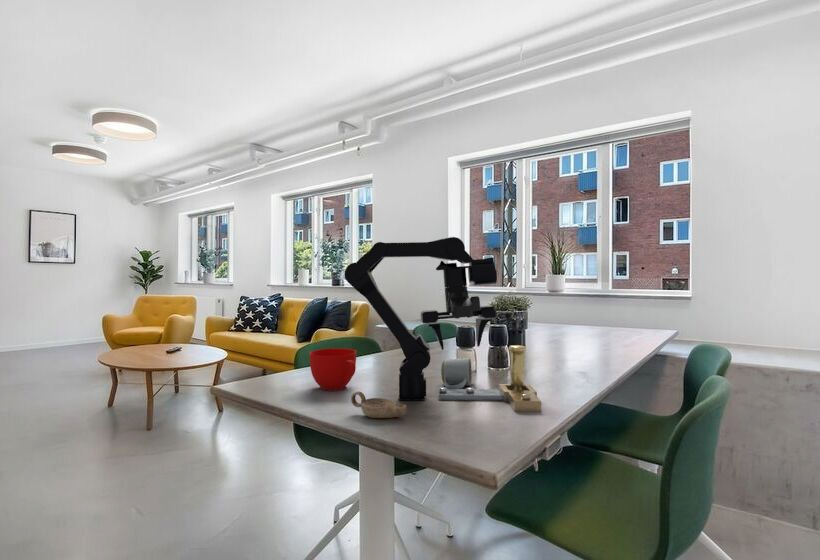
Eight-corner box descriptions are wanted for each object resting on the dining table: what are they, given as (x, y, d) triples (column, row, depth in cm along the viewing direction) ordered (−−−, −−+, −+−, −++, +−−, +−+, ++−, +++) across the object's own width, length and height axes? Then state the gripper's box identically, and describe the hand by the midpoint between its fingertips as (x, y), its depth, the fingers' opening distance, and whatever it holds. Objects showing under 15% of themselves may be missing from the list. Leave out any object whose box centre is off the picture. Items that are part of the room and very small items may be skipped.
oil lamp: (411, 415, 97) (411, 392, 97) (396, 425, 90) (396, 401, 90) (360, 408, 103) (360, 387, 103) (343, 417, 96) (343, 394, 96)
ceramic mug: (444, 380, 129) (444, 355, 129) (472, 382, 127) (471, 356, 127) (438, 390, 119) (438, 362, 119) (468, 391, 117) (468, 363, 117)
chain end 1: (439, 400, 108) (439, 392, 108) (438, 392, 116) (438, 384, 116) (536, 401, 107) (536, 392, 107) (529, 393, 115) (529, 384, 115)
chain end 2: (510, 411, 99) (510, 396, 99) (498, 392, 115) (498, 380, 115) (545, 411, 99) (545, 396, 99) (529, 393, 115) (529, 380, 115)
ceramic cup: (332, 399, 109) (332, 360, 109) (301, 387, 122) (301, 351, 122) (374, 390, 118) (373, 354, 118) (340, 380, 131) (340, 346, 131)
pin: (508, 398, 110) (508, 347, 110) (509, 394, 113) (510, 344, 113) (524, 400, 108) (524, 348, 108) (525, 395, 112) (526, 345, 112)
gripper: (422, 290, 102) (427, 356, 102) (500, 284, 103) (505, 349, 103) (418, 289, 113) (422, 349, 113) (488, 284, 114) (493, 343, 114)
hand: (460, 348), depth 111 cm, fingers open, 9 cm apart
